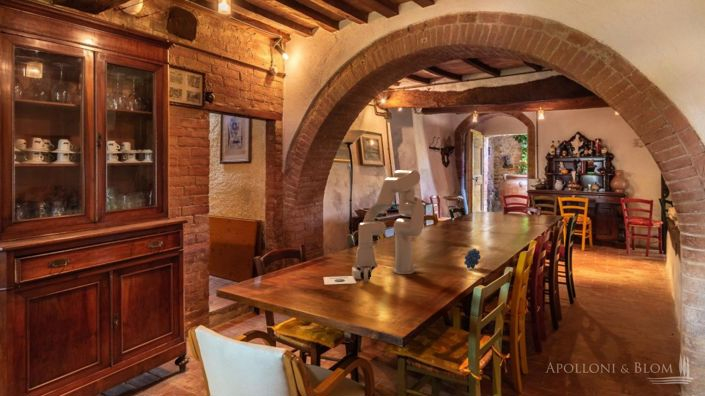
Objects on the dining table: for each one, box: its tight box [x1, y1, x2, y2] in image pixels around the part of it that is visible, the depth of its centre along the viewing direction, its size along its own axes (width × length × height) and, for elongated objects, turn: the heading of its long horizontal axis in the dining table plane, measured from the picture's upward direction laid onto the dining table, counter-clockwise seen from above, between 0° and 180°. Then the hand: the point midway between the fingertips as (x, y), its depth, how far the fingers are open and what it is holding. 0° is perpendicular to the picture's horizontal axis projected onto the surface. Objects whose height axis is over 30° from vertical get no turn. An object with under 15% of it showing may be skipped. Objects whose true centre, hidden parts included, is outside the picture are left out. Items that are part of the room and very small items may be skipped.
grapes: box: [464, 248, 482, 269], centre depth 251 cm, size 12×7×12 cm, turn 112°
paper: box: [323, 275, 357, 286], centre depth 227 cm, size 17×14×1 cm
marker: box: [362, 266, 370, 283], centre depth 224 cm, size 3×3×10 cm
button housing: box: [351, 266, 362, 280], centre depth 234 cm, size 8×8×4 cm
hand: (365, 278), depth 224 cm, fingers closed on marker, 3 cm apart
